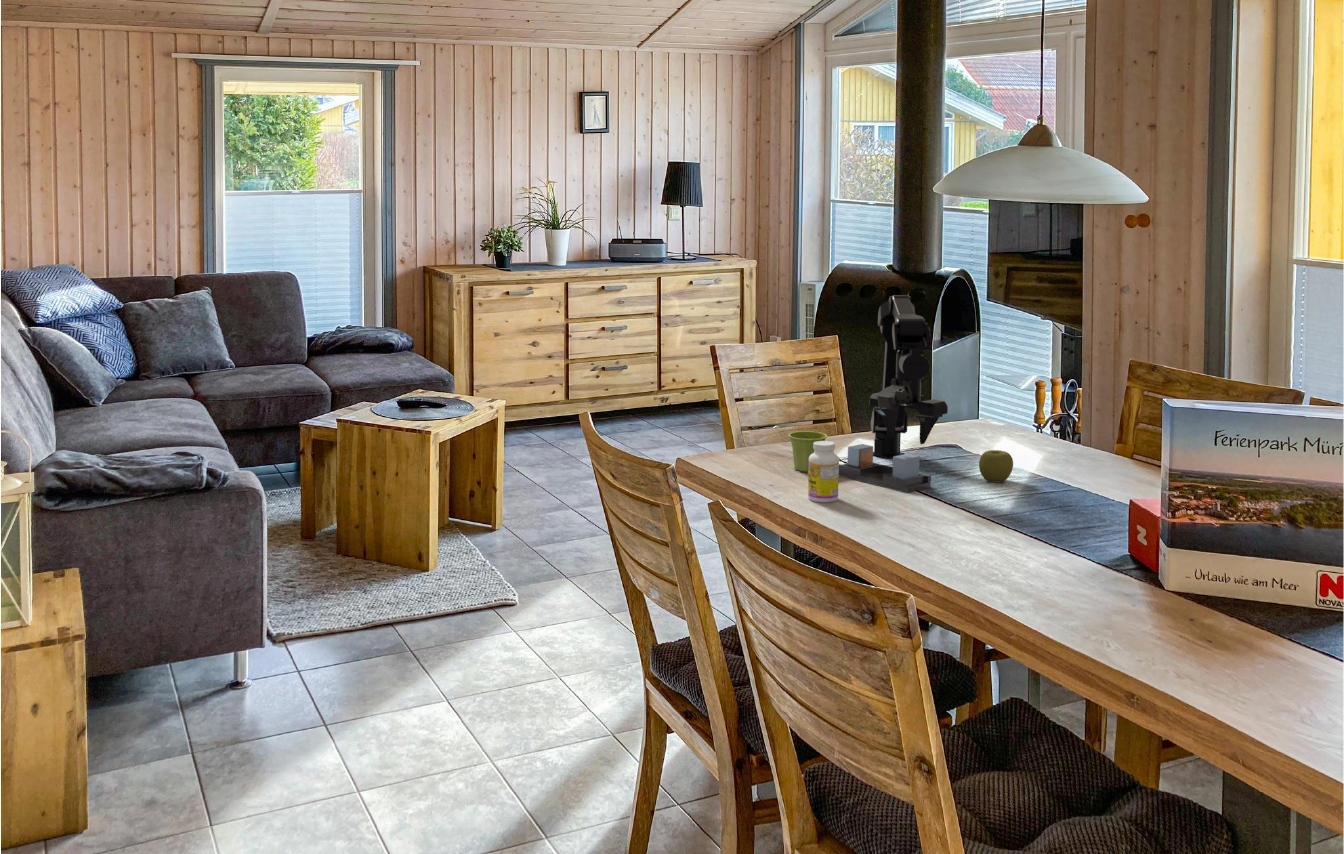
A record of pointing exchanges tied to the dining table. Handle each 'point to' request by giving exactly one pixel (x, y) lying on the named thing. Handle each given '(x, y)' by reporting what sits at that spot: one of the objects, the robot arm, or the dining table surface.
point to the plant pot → (804, 447)
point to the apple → (995, 465)
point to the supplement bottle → (823, 473)
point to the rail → (878, 471)
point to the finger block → (906, 466)
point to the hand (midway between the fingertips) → (906, 440)
